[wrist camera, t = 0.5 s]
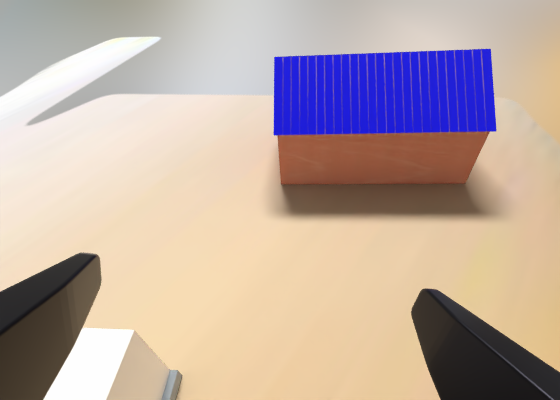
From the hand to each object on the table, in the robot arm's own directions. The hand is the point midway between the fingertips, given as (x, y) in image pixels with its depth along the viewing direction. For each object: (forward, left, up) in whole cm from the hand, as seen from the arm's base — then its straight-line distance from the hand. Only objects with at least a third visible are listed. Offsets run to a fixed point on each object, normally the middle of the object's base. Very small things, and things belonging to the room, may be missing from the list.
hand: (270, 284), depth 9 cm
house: (+27, -8, -15) cm, 31 cm away
